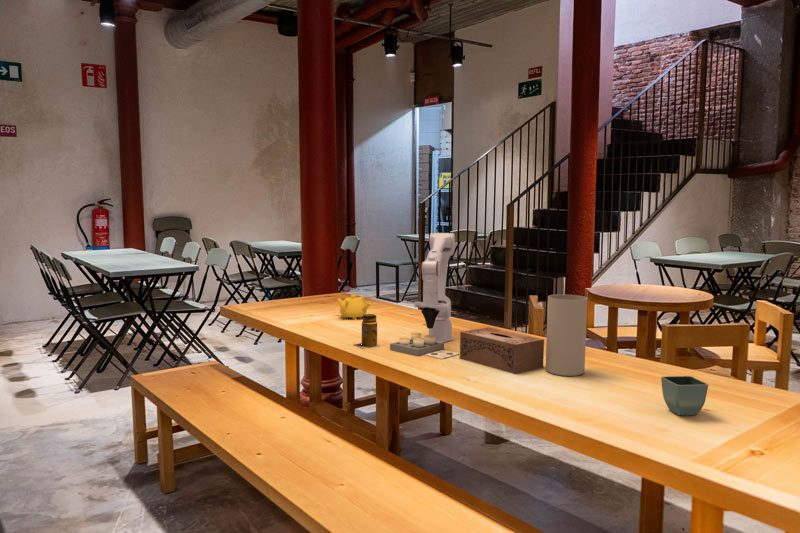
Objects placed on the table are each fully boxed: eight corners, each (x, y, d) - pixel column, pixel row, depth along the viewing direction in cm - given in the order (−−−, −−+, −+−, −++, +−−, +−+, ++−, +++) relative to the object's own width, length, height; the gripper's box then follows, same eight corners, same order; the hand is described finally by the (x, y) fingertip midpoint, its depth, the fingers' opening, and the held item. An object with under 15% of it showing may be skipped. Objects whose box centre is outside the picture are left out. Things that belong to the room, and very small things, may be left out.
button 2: (415, 339, 247) (415, 332, 247) (423, 341, 244) (423, 333, 244) (408, 341, 244) (408, 333, 244) (416, 342, 241) (416, 335, 241)
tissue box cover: (459, 359, 227) (460, 331, 226) (487, 353, 236) (488, 327, 235) (514, 374, 207) (515, 344, 206) (543, 368, 216) (544, 339, 215)
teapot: (381, 317, 307) (381, 294, 306) (359, 323, 292) (359, 299, 291) (347, 313, 318) (348, 291, 317) (325, 318, 303) (325, 295, 302)
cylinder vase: (537, 369, 214) (540, 295, 211) (568, 365, 219) (570, 293, 216) (561, 378, 202) (564, 300, 200) (592, 374, 207) (595, 298, 205)
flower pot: (658, 407, 174) (660, 375, 173) (689, 407, 175) (691, 375, 174) (675, 418, 165) (676, 385, 164) (707, 418, 166) (709, 384, 165)
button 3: (418, 345, 238) (418, 337, 237) (426, 346, 235) (426, 338, 235) (411, 346, 235) (411, 338, 234) (419, 348, 232) (419, 340, 232)
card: (442, 351, 238) (442, 349, 238) (459, 354, 233) (459, 353, 233) (424, 355, 231) (424, 354, 231) (442, 359, 225) (442, 357, 225)
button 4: (429, 342, 242) (429, 334, 242) (437, 344, 240) (437, 336, 239) (422, 344, 239) (422, 336, 239) (430, 345, 237) (430, 337, 236)
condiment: (381, 346, 245) (381, 315, 244) (362, 348, 241) (362, 317, 240) (371, 342, 251) (371, 312, 250) (353, 345, 247) (353, 314, 246)
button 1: (404, 344, 242) (404, 337, 242) (412, 346, 240) (412, 338, 239) (397, 346, 239) (397, 338, 239) (404, 348, 237) (405, 340, 236)
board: (416, 343, 250) (416, 337, 250) (444, 349, 241) (444, 343, 240) (390, 349, 239) (390, 343, 239) (418, 356, 230) (418, 349, 229)
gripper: (409, 291, 240) (408, 326, 241) (439, 295, 230) (438, 332, 231) (421, 289, 245) (420, 324, 246) (451, 293, 235) (450, 329, 236)
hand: (430, 328), depth 239 cm, fingers closed
